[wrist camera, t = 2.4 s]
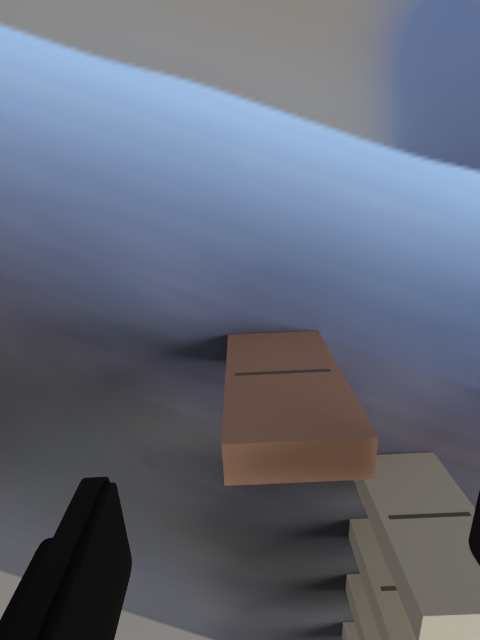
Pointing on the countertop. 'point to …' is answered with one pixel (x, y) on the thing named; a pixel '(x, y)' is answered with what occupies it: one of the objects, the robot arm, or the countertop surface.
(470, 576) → the domino
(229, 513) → the countertop surface
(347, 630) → the domino
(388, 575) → the domino
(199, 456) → the countertop surface
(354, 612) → the domino
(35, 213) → the countertop surface
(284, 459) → the domino
